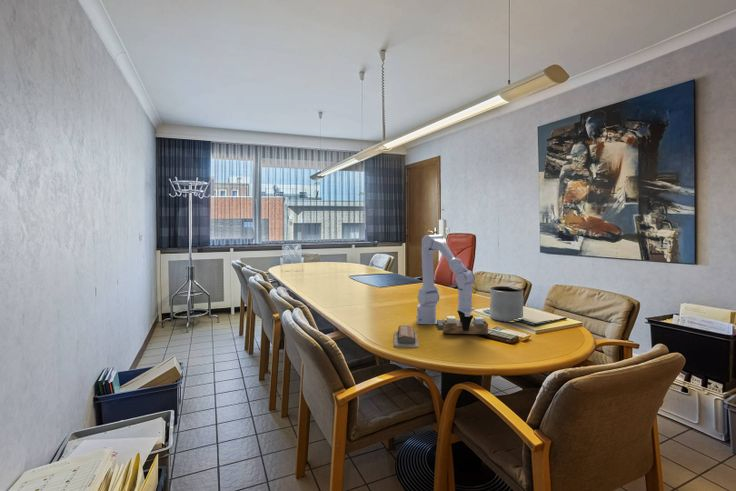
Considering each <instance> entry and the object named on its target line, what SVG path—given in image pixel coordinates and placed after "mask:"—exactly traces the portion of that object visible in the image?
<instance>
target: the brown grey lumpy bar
mask: <svg viewBox="0 0 736 491" xmlns="http://www.w3.org/2000/svg"><path fill="white" fill-rule="evenodd" d="M442 332H443V334H464V335H486V334H485V333H488V334H489V323H488V322H487V320H484V324H475V323H474V321H473V323H470V326H469V330H468V331H463V326H462V322H456V324H452V323H447V319H446V320H444V319H443V329H442Z"/></svg>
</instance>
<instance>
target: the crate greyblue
mask: <svg viewBox="0 0 736 491" xmlns="http://www.w3.org/2000/svg"><path fill="white" fill-rule="evenodd" d="M484 319H485V318H484V317H483V316H473V320H474V323H475V324H484Z"/></svg>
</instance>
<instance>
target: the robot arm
mask: <svg viewBox="0 0 736 491" xmlns="http://www.w3.org/2000/svg"><path fill="white" fill-rule="evenodd" d="M436 251H439V252H440V253H441V255H442V256H443V257H444V258H445V259H446V261H447V262H448V267H449V269H450V270H451V271H452V273H453V274H454V275H455V282H456V284H457V288H458V300H457V302H458V305H457V311H456V312H457V313H458V314H457V315H458V316H459V320H460V322H462V326H463V331H468V330H469V326H470V322H471V320H473V319H474V315H471V312H472V311H475V307H472V305H473V303H472V302H473V300H472V299H473V295H472V294H473V284H474V282H475V281H476V277H475V276H476V275H475V274H474V272H473V271H472V270H469V268H467V267H466V266H465V265H464V263H463V262H462V259H461V258H459V257H455V255H454V253H453V252H452V251H451V249H450V247H449V246H448V244H447V239H446V238H445V236H444V235H443V234H425V235H424V236H423V238H422V239H421V270H422V271H421V272H422V285H421V287H420V288H419V289H418V294H417V301H418V303H419V304H417V306H416V309H417V310H416V311H417V312H416V313H417V314H416V320H417V321H416V323H417V324H418V325H437V315H436V314H437V305H438V302H439V301H440V293H439V288H437V286H436V285H435V280H434V279H435V277H434V273H435V272H434V253H435V252H436Z"/></svg>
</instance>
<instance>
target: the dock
mask: <svg viewBox="0 0 736 491" xmlns="http://www.w3.org/2000/svg"><path fill="white" fill-rule="evenodd" d="M444 320H447V318H446V319H444ZM436 321H437V324H436V326H437V329H438V330H443V319H441V318H440V319H438V318H436ZM473 321H474V319H472V320H471V322H470V323H473ZM456 322H460V319H456Z"/></svg>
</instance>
